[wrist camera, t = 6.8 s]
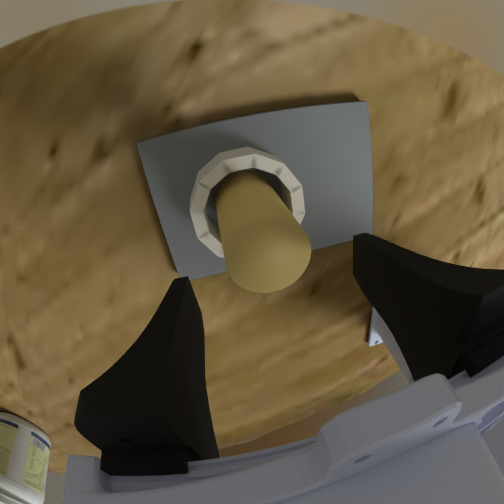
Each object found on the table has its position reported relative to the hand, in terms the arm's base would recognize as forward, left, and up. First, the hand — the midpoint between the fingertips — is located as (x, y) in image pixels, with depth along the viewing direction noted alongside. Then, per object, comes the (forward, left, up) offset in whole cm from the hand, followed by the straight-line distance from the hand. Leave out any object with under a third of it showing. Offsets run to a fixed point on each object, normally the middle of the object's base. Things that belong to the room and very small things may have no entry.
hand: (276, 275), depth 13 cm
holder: (-2, 0, -10) cm, 11 cm away
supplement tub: (+46, +29, -11) cm, 55 cm away
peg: (0, 0, -9) cm, 9 cm away
